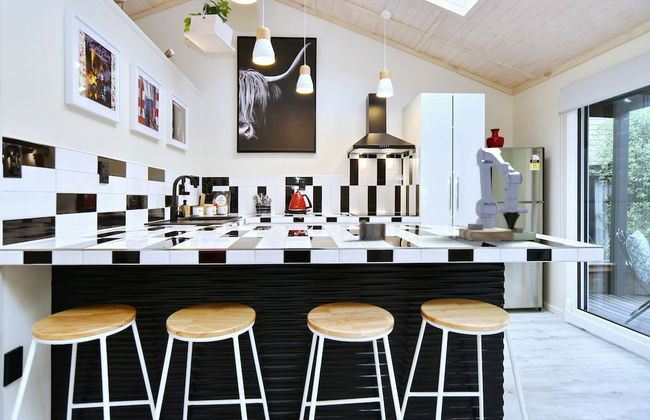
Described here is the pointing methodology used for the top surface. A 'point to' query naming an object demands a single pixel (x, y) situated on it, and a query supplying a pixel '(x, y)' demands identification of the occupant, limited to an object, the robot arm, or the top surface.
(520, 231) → the walnut tile
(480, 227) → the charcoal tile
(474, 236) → the oak bench
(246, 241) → the top surface
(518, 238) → the bin
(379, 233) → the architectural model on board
